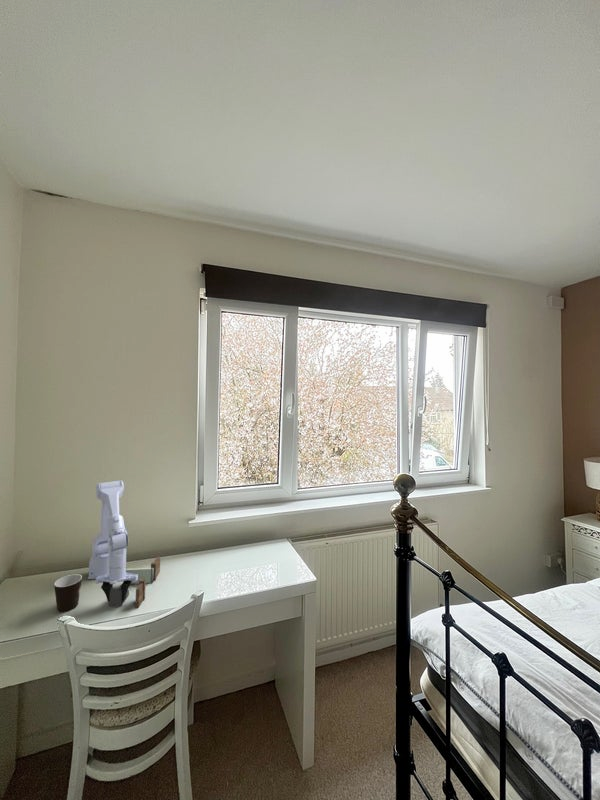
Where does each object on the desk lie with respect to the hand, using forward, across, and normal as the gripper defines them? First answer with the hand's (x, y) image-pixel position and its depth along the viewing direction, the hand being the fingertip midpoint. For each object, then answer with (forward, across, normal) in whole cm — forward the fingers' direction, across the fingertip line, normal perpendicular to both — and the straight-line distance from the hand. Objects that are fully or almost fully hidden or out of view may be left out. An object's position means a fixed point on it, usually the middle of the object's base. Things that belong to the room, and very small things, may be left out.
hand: (116, 600), depth 123 cm
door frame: (+2, +8, +10) cm, 13 cm away
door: (+1, +3, +14) cm, 14 cm away
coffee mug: (+2, -18, +2) cm, 18 cm away
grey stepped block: (+2, 0, +2) cm, 3 cm away
